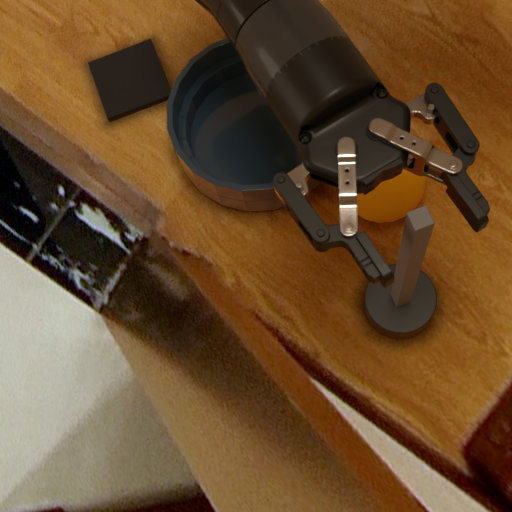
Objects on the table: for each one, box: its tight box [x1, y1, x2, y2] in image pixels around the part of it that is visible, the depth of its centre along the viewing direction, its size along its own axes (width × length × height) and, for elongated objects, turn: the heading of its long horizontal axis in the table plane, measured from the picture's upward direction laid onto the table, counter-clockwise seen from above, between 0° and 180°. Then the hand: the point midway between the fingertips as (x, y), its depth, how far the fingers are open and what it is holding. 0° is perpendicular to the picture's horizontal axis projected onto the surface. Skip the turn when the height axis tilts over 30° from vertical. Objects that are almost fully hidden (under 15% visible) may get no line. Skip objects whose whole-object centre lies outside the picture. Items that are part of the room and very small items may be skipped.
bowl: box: [166, 37, 322, 212], centre depth 83 cm, size 16×16×6 cm
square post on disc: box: [363, 204, 438, 340], centre depth 68 cm, size 6×6×24 cm
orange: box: [357, 169, 427, 224], centre depth 79 cm, size 8×8×8 cm
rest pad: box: [87, 38, 172, 123], centre depth 88 cm, size 7×7×1 cm
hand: (436, 253), depth 58 cm, fingers open, 7 cm apart
